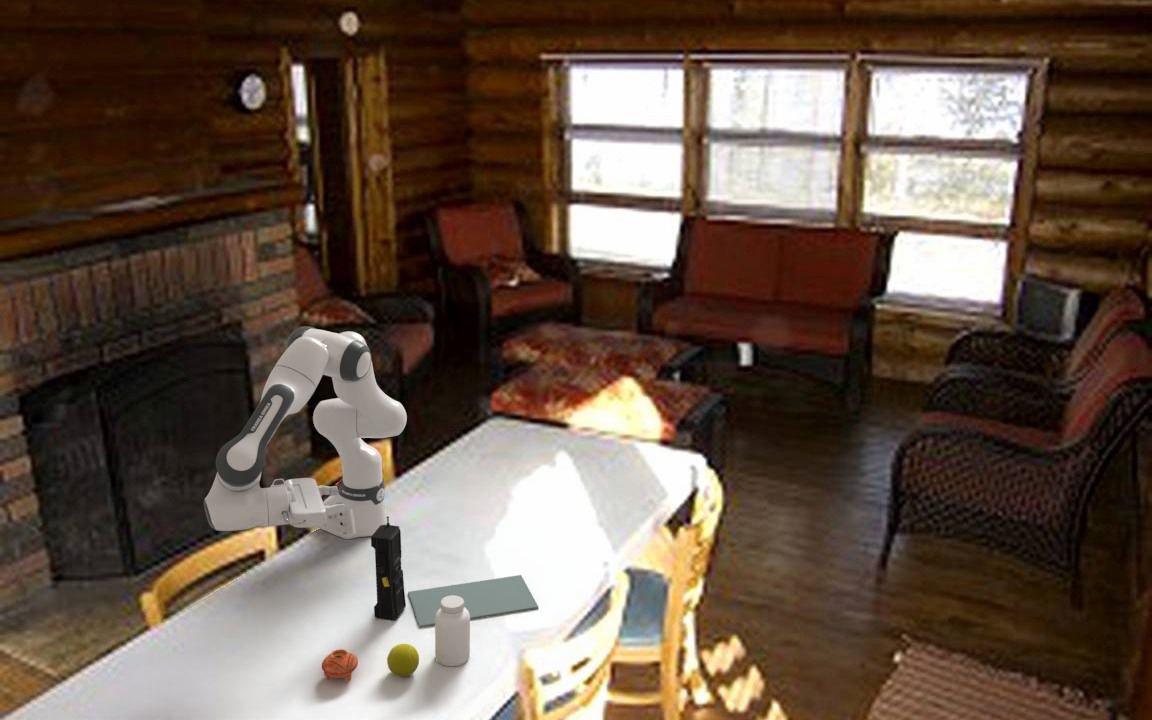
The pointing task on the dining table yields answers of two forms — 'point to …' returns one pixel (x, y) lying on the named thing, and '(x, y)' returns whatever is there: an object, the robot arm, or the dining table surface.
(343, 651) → the pot
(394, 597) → the portable radio
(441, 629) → the pill bottle
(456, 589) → the mat
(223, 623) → the dining table surface
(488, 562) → the dining table surface
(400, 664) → the tennis ball
